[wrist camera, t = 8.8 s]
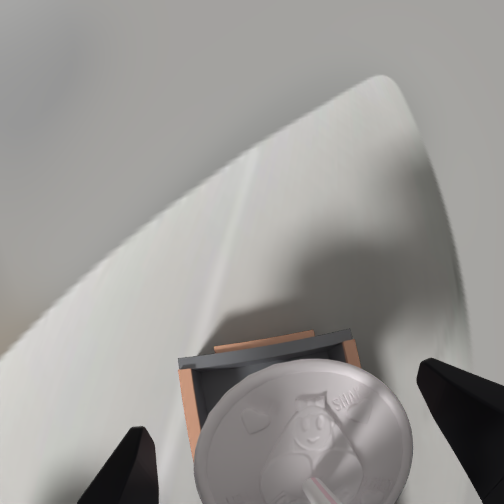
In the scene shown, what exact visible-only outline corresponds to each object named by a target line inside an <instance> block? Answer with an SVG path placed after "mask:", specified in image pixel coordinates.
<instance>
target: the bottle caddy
mask: <svg viewBox="0 0 504 504" xmlns="http://www.w3.org/2000/svg"><path fill="white" fill-rule="evenodd" d="M214 351H215V354H209V355H201V356H193V357H185V358H178V363H179V370H178V373H179V380H180V387H181V393H182V400H183V406H184V413H185V419H186V424H187V430H188V436H189V441H190V446H191V452H192V457H193V462H194V455H195V448H196V444H197V440H198V437H199V435H200V432H201V429H202V427H203V425H204V423H205V421H206V419H207V417H208V415H209V413H210V412H211V410H212V409H213V408H214V407H215V405H216V404H217V403H218V402H219V400H220V399H221V398H222V397H223V395H224V394H225V393H226V392H227V391H228V390H230V389H231V388H232V387H234V386H235V385H236V384H238V383H239V382H240V381H242V380H243V379H244V378H246V377H247V376H248V375H250V374H253V373H255V372H257V371H260V370H262V369H264V368H267V367H269V366H271V365H273V364H277V363H283V362H289V361H294V360H300V359H329V360H335V361H340V362H344V363H348V364H351V365H354V366H357V367H359V368H361V365H360V360H359V356H358V351H357V347H356V343H355V339H352V335H351V330H350V329H346V330H342V331H337V332H333V333H328V334H324V335H319V336H315V334H314V330H308V331H303V332H298V333H293V334H288V335H282V336H277V337H271V338H266V339H260V340H254V341H248V342H241V343H235V344H228V345H221V346H214Z"/></svg>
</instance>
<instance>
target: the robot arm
mask: <svg viewBox="0 0 504 504" xmlns="http://www.w3.org/2000/svg"><path fill="white" fill-rule="evenodd" d="M417 385H418V387H419V389H420V391H421V393H422V395H423V397H424V399H425V401H426V404H427V406H428V408H429V410H430V412H431V414H432V416H433V418H434V420H435V421H436V423H437V425H438V426H439V428H440V430H441V431H442V433H443V435H444V436H445V438H446V439H447V441H448V443H449V444H450V446H451V448H452V449H453V451H454V453H455V455H456V456H457V458H458V460H459V461H460V463H461V465H462V467H463V468H464V470H465V472H466V474H467V475H468V477H469V479H470V481H471V482H472V484H473V486H474V488H475V489H476V491H477V493H478V495H479V497H480V499H481V500H482V503H483V504H504V386H503V385H500V384H497V383H495V382H492V381H490V380H487V379H484V378H482V377H479V376H477V375H474V374H472V373H469V372H467V371H464V370H461V369H459V368H456V367H454V366H451V365H449V364H446V363H444V362H441V361H439V360H436V359H434V358H428V359H426V360H424V361H422V362H421V363H420V366H419V370H418V374H417ZM77 504H159V486H158V475H157V465H156V453H155V445H154V442H153V440H152V438H151V436H150V435H149V433H148V431H147V430H146V428H145V427H143V426H138V427H132V428H130V430H129V431H128V432H127V434H126V435H125V437H124V438H123V439H122V441H121V442H120V444H119V445H118V446H117V448H116V449H115V450H114V452H113V453H112V455H111V456H110V457H109V459H108V460H107V462H106V463H105V464H104V466H103V467H102V469H101V470H100V471H99V473H98V474H97V476H96V477H95V478H94V480H93V481H92V482H91V484H90V485H89V487H88V488H87V489H86V491H85V492H84V494H83V495H82V496H81V498H80V499H79V500H78V502H77Z"/></svg>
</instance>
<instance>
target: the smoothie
mask: <svg viewBox="0 0 504 504" xmlns="http://www.w3.org/2000/svg"><path fill="white" fill-rule="evenodd" d="M412 457H413V438H412V431H411V427H410V423H409V420H408V417H407V414H406V412H405V410H404V408H403V406H402V404H401V403H400V401H399V400H398V398H397V397H396V395H395V394H394V393H393V392H392V391H391V389H390V388H389V387H388V386H386V385H385V384H384V383H383V382H382V381H381V380H379V379H378V378H377V377H375V376H374V375H372V374H371V373H369V372H367V371H365V370H363V369H361V368H359V367H357V366H354V365H351V364H348V363H344V362H340V361H335V360H329V359H300V360H294V361H289V362H283V363H277V364H273V365H271V366H269V367H267V368H264V369H262V370H260V371H257V372H255V373H253V374H250V375H248V376H247V377H246V378H244V379H243V380H242V381H240V382H239V383H238V384H236V385H235V386H234V387H232V388H231V389H230V390H228V391H227V392H226V393H225V394H224V395H223V397H222V398H221V399H220V400H219V402H218V403H217V404H216V405H215V407H214V408H213V409H212V410H211V412H210V413H209V415H208V417H207V419H206V421H205V423H204V425H203V427H202V429H201V432H200V435H199V437H198V440H197V444H196V448H195V455H194V477H195V483H196V487H197V491H198V494H199V496H200V499H201V501H202V503H203V504H394V503H395V502H396V500H397V499H398V497H399V496H400V494H401V492H402V490H403V488H404V486H405V484H406V481H407V478H408V475H409V472H410V468H411V463H412Z"/></svg>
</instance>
